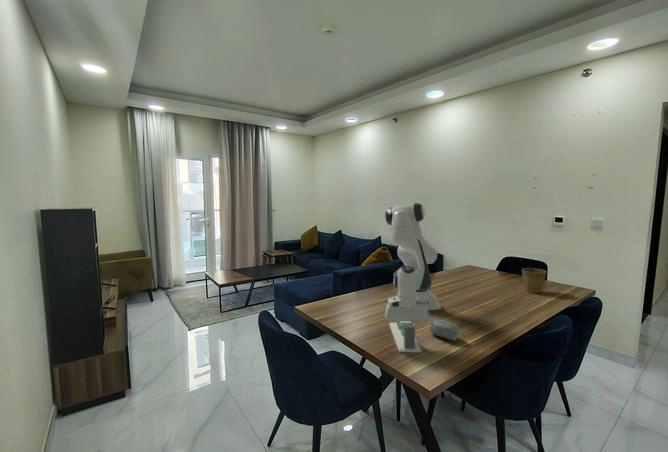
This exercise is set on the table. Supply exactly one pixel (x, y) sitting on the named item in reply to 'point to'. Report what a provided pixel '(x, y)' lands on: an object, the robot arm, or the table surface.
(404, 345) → the stand
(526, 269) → the plant pot
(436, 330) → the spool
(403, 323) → the sleeve
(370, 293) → the table surface
